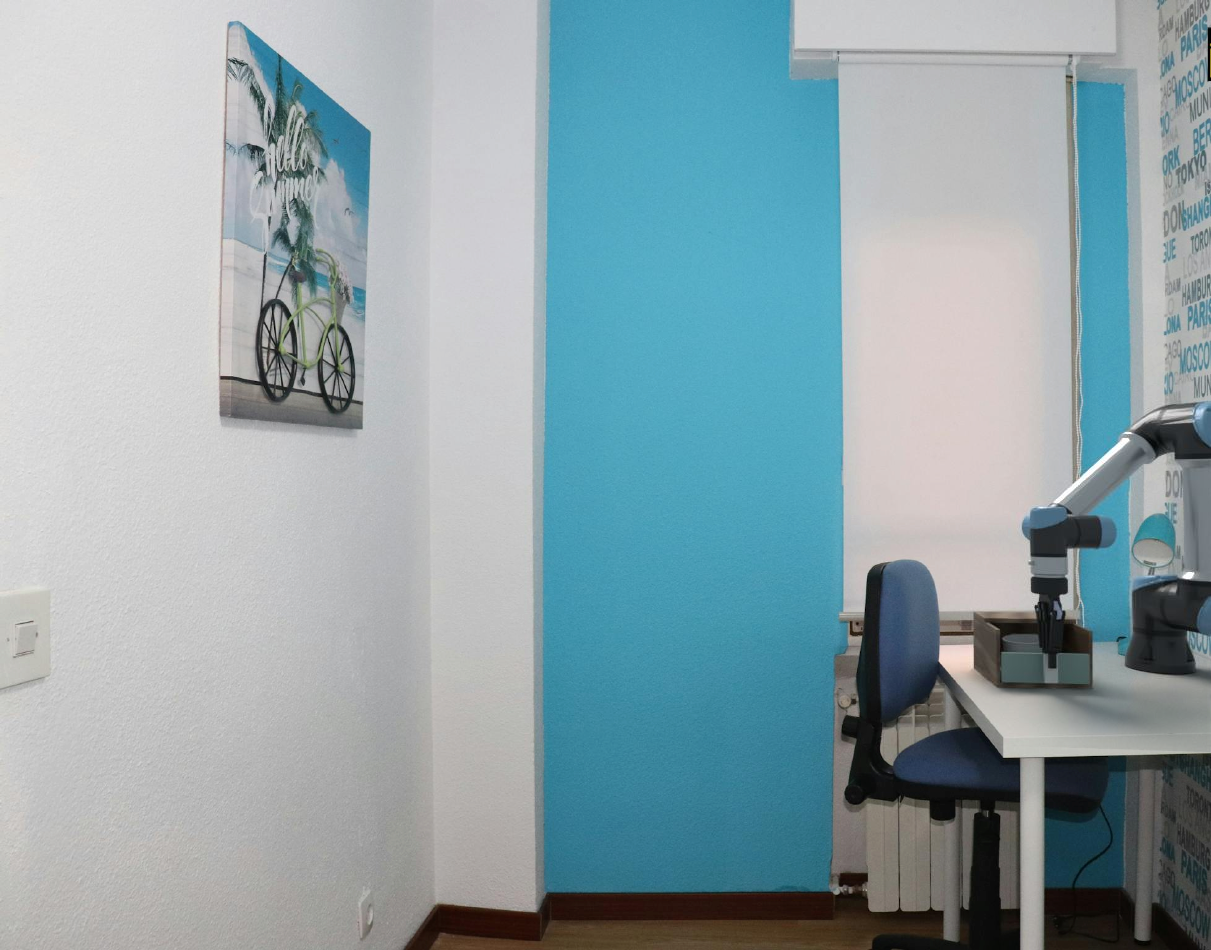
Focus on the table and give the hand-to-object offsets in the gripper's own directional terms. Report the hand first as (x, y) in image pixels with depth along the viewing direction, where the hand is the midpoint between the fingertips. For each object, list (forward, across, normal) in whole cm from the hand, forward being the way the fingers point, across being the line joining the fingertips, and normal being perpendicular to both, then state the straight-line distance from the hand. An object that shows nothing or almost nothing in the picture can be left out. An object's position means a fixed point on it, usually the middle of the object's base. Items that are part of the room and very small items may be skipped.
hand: (1050, 682), depth 206 cm
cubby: (+2, -14, 0) cm, 14 cm away
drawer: (0, -13, 0) cm, 13 cm away
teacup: (0, -13, -1) cm, 13 cm away
